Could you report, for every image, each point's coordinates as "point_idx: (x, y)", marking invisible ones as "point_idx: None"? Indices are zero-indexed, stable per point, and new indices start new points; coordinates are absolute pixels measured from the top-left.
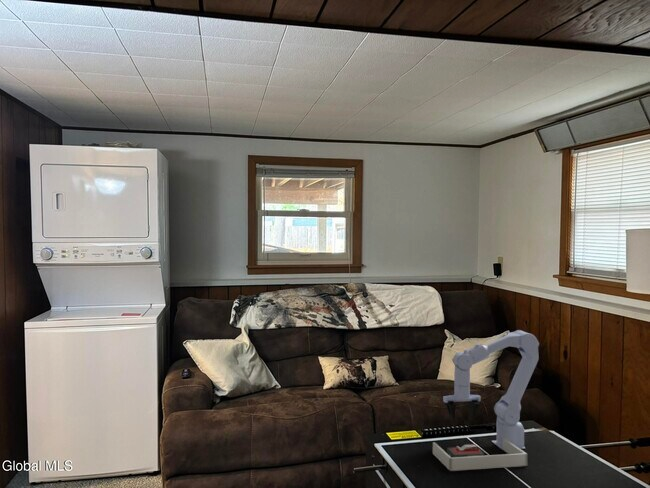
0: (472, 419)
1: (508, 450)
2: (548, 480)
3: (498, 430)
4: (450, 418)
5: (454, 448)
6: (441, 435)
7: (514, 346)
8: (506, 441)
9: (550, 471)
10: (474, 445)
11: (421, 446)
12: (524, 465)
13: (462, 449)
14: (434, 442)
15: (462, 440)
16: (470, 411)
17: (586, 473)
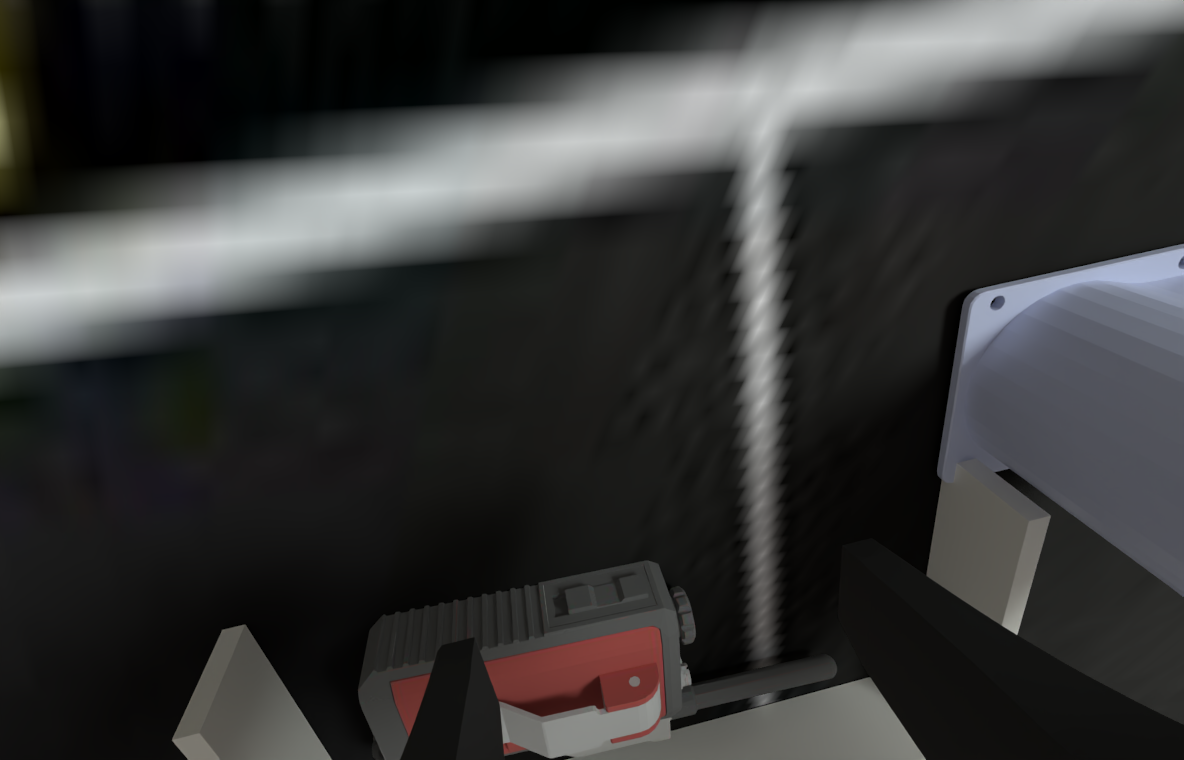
0: (866, 649)
1: (954, 544)
2: None
3: (1103, 497)
4: (433, 686)
5: None
6: (383, 77)
7: None
8: (1012, 573)
9: None
10: (638, 718)
11: (70, 493)
12: None
13: (504, 736)
14: (192, 739)
15: (649, 261)
16: (967, 733)
17: (1168, 684)
